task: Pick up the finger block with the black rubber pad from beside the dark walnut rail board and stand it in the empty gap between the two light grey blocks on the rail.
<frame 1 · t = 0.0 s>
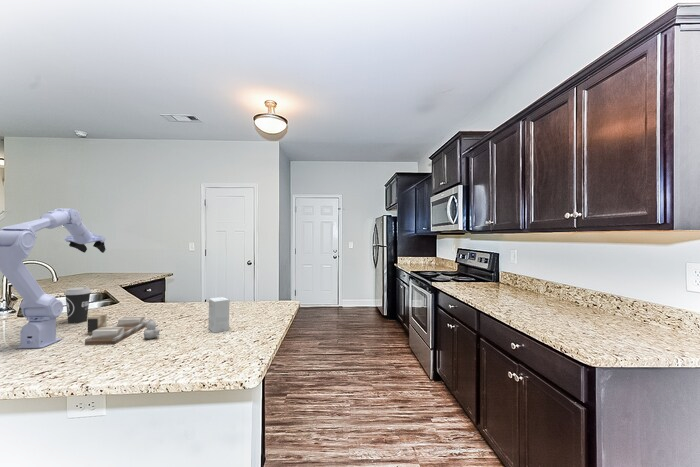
hand: (94, 250, 144), 32 cm above the countertop, tool tilted 50°, fingers open, 7 cm apart
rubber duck: (152, 338, 124), on the countertop
rail board: (120, 333, 129), on the countertop
small box: (218, 329, 137), on the countertop
finger block: (97, 332, 130), on the countertop
coffee cup: (77, 322, 146), on the countertop
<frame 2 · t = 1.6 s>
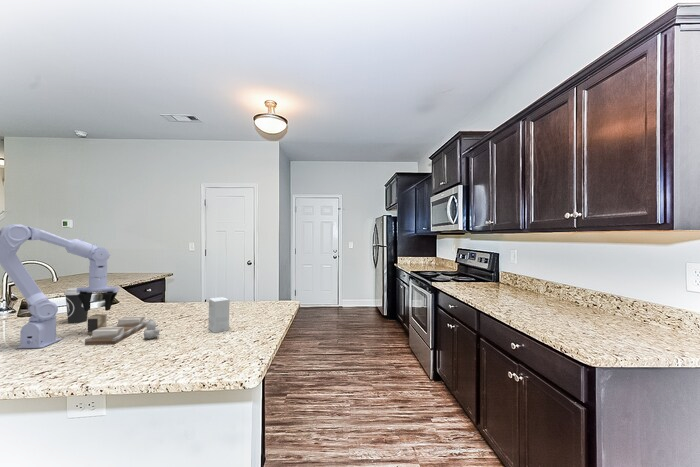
hand: (97, 310, 130), 9 cm above the countertop, tool pointing down, fingers open, 7 cm apart
nothing on the countertop moved.
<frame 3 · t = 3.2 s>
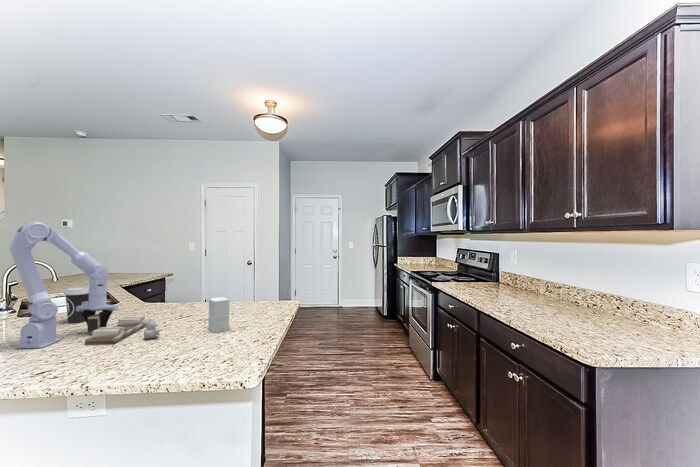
hand: (97, 328, 130), 2 cm above the countertop, tool pointing down, fingers closed on finger block, 4 cm apart
finger block: (97, 332, 130), on the countertop, touching gripper
everything else where it was.
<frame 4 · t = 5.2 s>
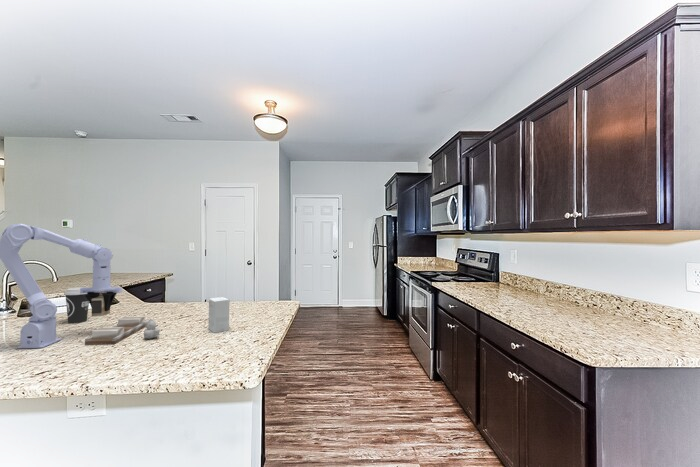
hand: (101, 310, 130), 9 cm above the countertop, tool pointing down, fingers closed on finger block, 4 cm apart
finger block: (101, 314, 130), point 7 cm above the countertop, touching gripper
everything else where it was.
when the fingers open (5 cm above the countertop, at t = 7.4 s): finger block drops 2 cm, resting on rail board.
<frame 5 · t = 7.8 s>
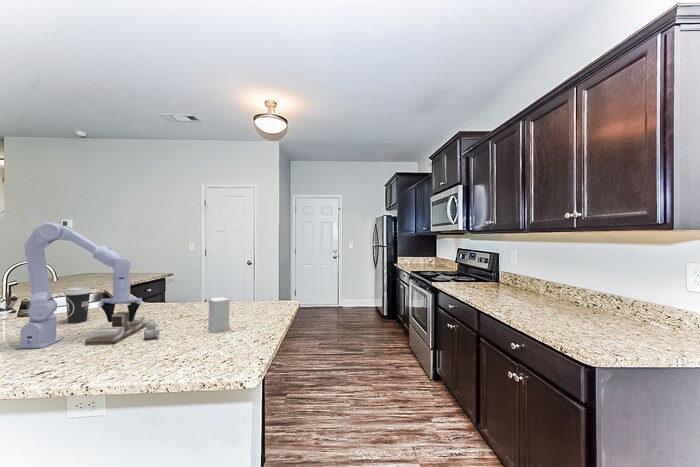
hand: (121, 321, 129), 5 cm above the countertop, tool pointing down, fingers open, 7 cm apart
finger block: (120, 330, 129), point 1 cm above the countertop, touching rail board
everything else where it was.
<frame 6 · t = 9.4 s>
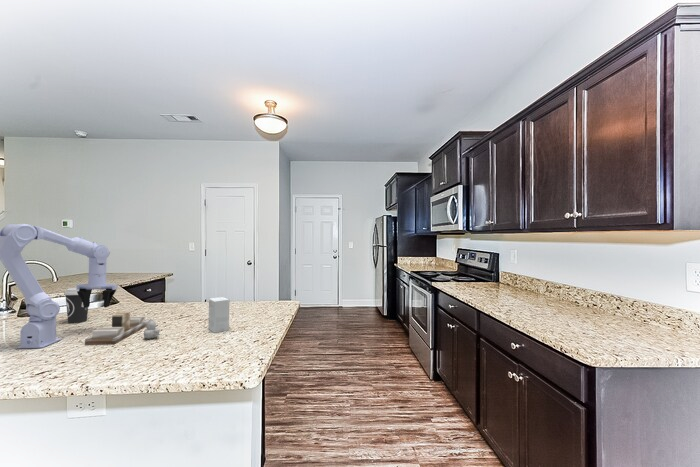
hand: (96, 307, 132), 10 cm above the countertop, tool pointing down, fingers open, 7 cm apart
nothing on the countertop moved.
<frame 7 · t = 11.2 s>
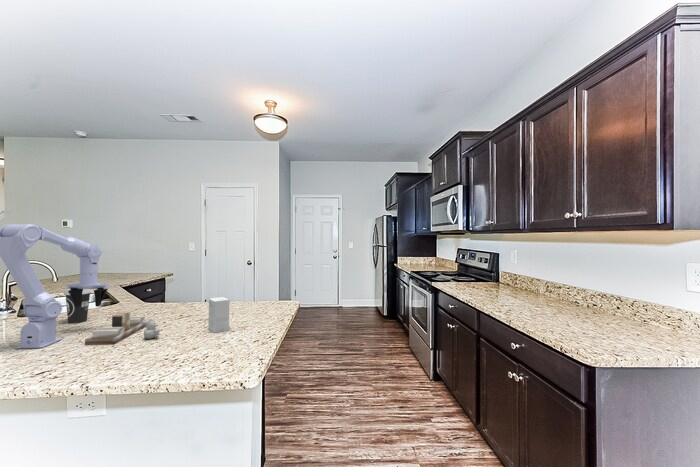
hand: (88, 306, 133), 10 cm above the countertop, tool pointing down, fingers open, 7 cm apart
nothing on the countertop moved.
at the end: finger block 0.1 cm off-centre on the rail board, point 1.2 cm above the rail board's base; finger block tilted 0°; the gripper is holding nothing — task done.
